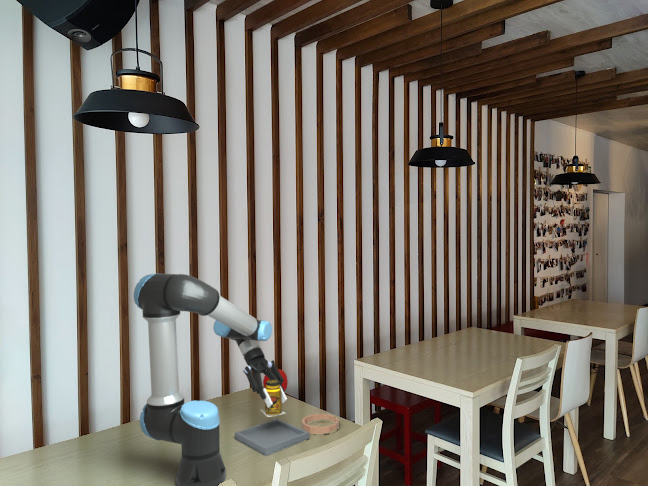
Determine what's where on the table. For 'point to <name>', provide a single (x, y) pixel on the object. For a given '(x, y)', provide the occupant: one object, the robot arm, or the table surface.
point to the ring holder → (324, 428)
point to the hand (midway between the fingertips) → (277, 403)
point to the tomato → (281, 375)
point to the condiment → (273, 399)
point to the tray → (271, 436)
